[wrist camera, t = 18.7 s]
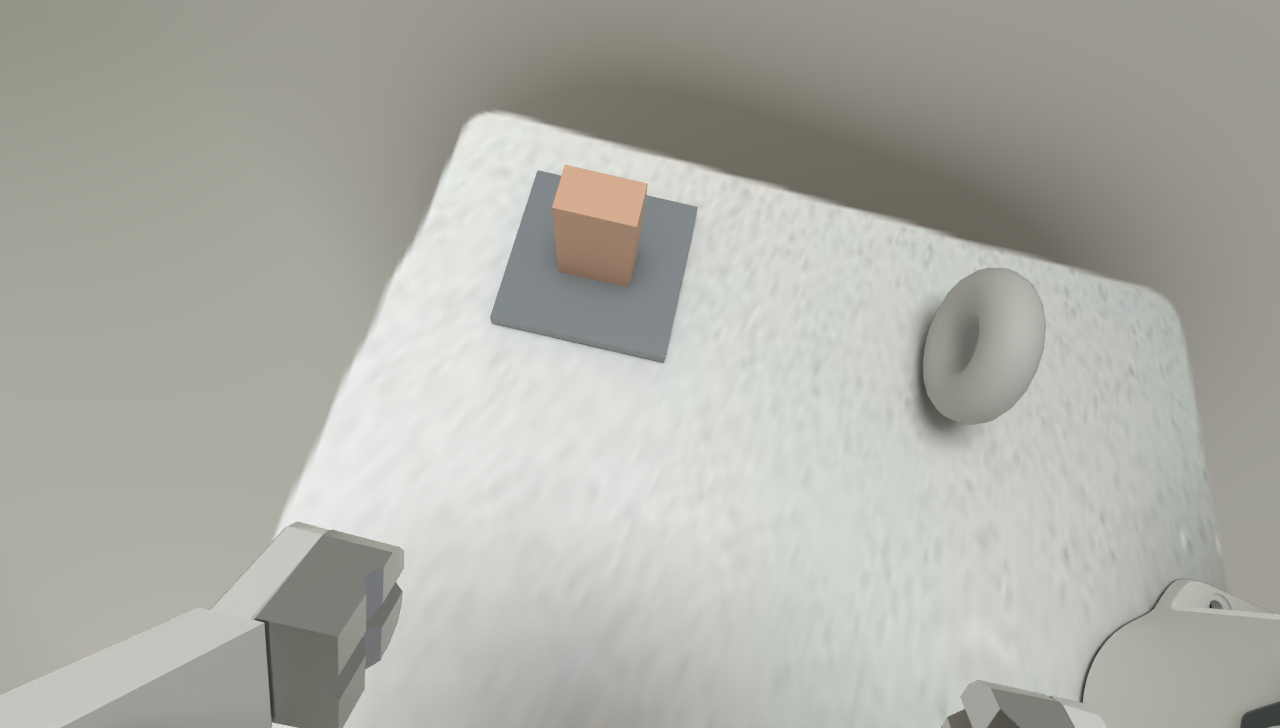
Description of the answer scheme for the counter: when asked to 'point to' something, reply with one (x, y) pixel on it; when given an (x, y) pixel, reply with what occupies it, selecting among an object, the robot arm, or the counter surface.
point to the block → (598, 225)
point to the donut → (984, 346)
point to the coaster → (596, 281)
